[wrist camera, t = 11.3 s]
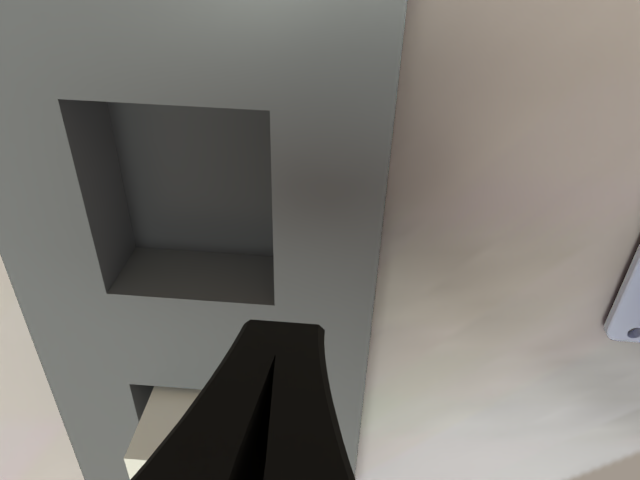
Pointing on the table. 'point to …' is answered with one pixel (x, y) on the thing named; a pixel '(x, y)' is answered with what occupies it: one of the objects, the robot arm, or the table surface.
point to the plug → (157, 423)
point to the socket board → (191, 191)
